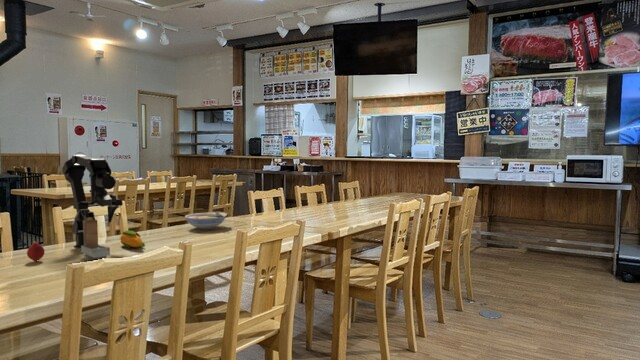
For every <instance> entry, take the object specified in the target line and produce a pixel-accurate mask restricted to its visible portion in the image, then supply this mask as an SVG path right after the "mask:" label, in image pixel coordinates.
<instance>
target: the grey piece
mask: <svg viewBox="0 0 640 360" xmlns="http://www.w3.org/2000/svg"><path fill="white" fill-rule="evenodd" d="M80 251H81V254H83V257H84V259H85V260H84V261H86V260H92V261H94V260H93V259H97V258H104V259H107V258H106V257H108V256H111V249H110V247H109V246H104V245H101V244H99V243H98V247H95V248H88V247H86V246H81V247H80Z"/></svg>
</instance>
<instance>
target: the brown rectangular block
mask: <svg viewBox="0 0 640 360" xmlns="http://www.w3.org/2000/svg"><path fill="white" fill-rule="evenodd" d="M98 228H99V227H98V220H97V219H95V220H94V219H93V218H92V217H90V218H87V220H83V230H82V231H83V235H84V246H86V247H88V248H95V247H98V244H99V234H98V233H99V232H98V231H99V229H98Z"/></svg>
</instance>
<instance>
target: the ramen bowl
mask: <svg viewBox="0 0 640 360" xmlns="http://www.w3.org/2000/svg"><path fill="white" fill-rule="evenodd" d="M227 215H228V214H227V213H225V212H224V213H223V212H219V211H216V212H198V213H191V214H186V215H184V218H185V220H186V221H187V223H189V225H191V226H193V227H195V228H197V229H200V230H212V229H214V228H215V227H218V226H220V225H221V224H222V223H223V222H224V220H226V217H227Z"/></svg>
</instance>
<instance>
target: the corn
mask: <svg viewBox="0 0 640 360" xmlns="http://www.w3.org/2000/svg"><path fill="white" fill-rule="evenodd" d="M120 243H121V245H123V246H124V247H126V248H129V249H131V248H139V249H141V248H145V247H146V244H145V243H144V242H143V240H142V238H141V235H140V234H139V233H138V232H137V231H133V230H124V231H123V232H122V235H121V236H120Z"/></svg>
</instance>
